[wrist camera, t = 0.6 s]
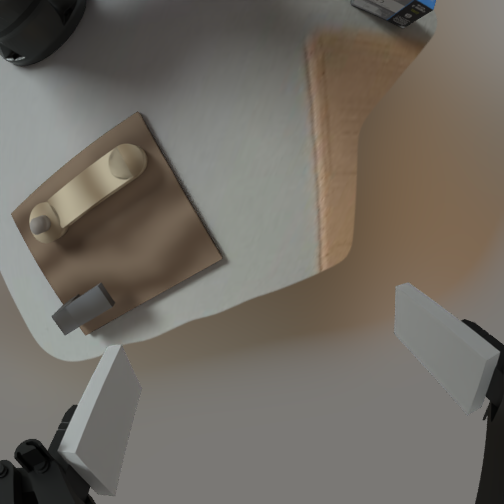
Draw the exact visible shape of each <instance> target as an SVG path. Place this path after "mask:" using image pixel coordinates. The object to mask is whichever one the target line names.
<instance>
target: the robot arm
mask: <svg viewBox="0 0 504 504" xmlns="http://www.w3.org/2000/svg"><path fill="white" fill-rule="evenodd" d="M85 5H86V0H0V55H1V56H2V57H3V58H4V59H5V60H6V61H8V62H11V63H13V64H16V65H20V66H25V65H30V64H34V63H36V62H39V61H41V60H42V59H44V58H46V57H47V56H49V55H50V54H52V53H53V52H54V51H55V50H57V49H58V48H59V47H60V46H61V45H62V44H63V43H64V42H65V41H66V40H67V39H68V37H69V36H70V35H71V34H72V32H73V31H74V30H75V28H76V27H77V25H78V23H79V21H80V20H81V18H82V15H83V13H84V10H85ZM394 334H395V335H396V336H397V338H398V339H399V340H400V341H401V342H402V343H403V344H404V345H405V346H406V347H407V348H408V349H409V350H410V352H411V353H412V354H413V355H414V356H415V357H416V358H417V359H418V360H419V361H420V362H421V363H422V365H423V366H424V367H425V368H426V369H427V370H428V371H429V372H430V373H431V374H432V376H433V377H434V378H435V379H436V380H437V381H438V382H439V384H440V385H441V386H442V387H443V388H444V389H445V390H446V391H447V392H448V394H449V395H450V396H451V397H452V398H453V399H454V401H455V402H456V403H457V404H458V405H459V406H460V408H461V409H462V410H463V411H464V412H465V413H466V415H469V414H471V413H473V412H474V411H476V410H477V409H479V408H481V407H482V404H483V402H484V399H485V396H486V397H487V398H488V399H489V400H490V403H489V406H488V408H487V410H486V412H485V415H484V417H483V420H485V419H486V417H487V415H488V418H487V432H486V442H485V451H484V459H483V466H482V472H481V478H480V483H479V489H478V493H477V498H476V502H475V504H504V345H503V344H502V343H500V342H499V341H498V340H497V339H495V338H494V337H493V336H491V335H489V334H488V332H486V331H485V330H483V329H482V328H481V327H480V326H478V325H477V324H476V323H474V322H471V321H468V320H466V319H464V320H462V321H460V320H459V319H458V318H456V317H455V316H454V315H452V314H451V313H449V312H448V311H447V310H446V309H444V308H443V307H442V306H440V305H439V304H438V303H436V302H435V301H434V300H432V299H431V298H429V297H428V296H426V295H425V294H424V293H422V292H421V291H420V290H418V289H417V288H415V287H414V286H413V285H411V284H410V283H405V284H402V285H398V286H396V297H395V327H394ZM141 390H142V387H141V385H140V383H139V381H138V379H137V377H136V375H135V373H134V371H133V369H132V366H131V364H130V362H129V360H128V358H127V355H126V353H125V351H124V349H123V346H122V344H120V345H112V346H108V347H107V349H106V350H105V352H104V354H103V356H102V358H101V360H100V362H99V364H98V366H97V368H96V370H95V372H94V374H93V376H92V378H91V380H90V382H89V384H88V386H87V388H86V390H85V392H84V394H83V396H82V398H81V400H80V402H79V404H78V405H73V406H72V407H71V408H70V409H69V410H68V411H67V412H66V413H65V415H64V417H63V419H62V423H61V424H60V425H59V427H58V431H57V432H56V434H55V436H54V438H53V440H52V442H51V445H50V447H49V449H48V451H47V450H46V448H45V447H44V446H43V445H42V443H41V442H40V441H38V440H36V439H29V440H26V441H24V442H23V443H21V444H20V445H19V446H18V447H17V448H16V451H15V456H14V457H15V459H16V460H17V461H18V463H19V464H20V465H21V466H22V467H23V468H16V467H14V465H13V464H12V463H11V462H10V461H7V460H1V461H0V504H96V503H95V502H94V500H93V498H92V497H91V496H90V495H89V494H88V492H89V488H90V487H91V488H92V489H93V490H94V491H95V492H96V493H97V494H100V495H109V496H115V494H116V490H117V485H118V481H119V476H120V472H121V467H122V463H123V459H124V455H125V451H126V446H127V442H128V438H129V435H130V430H131V427H132V423H133V419H134V415H135V412H136V408H137V405H138V401H139V397H140V394H141Z"/></svg>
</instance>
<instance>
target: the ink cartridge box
mask: <svg viewBox="0 0 504 504" xmlns="http://www.w3.org/2000/svg"><path fill="white" fill-rule="evenodd" d="M435 2H436V0H351V5H353V6H355V7H358V8H360V9H363V10H365V11H367V12H370V13H372V14H374V15H377V16H379V17H381V18H383V19H385V20H387V21H389V22H391V23H393V24H396V25H397V26H399V27H401V28H405V27H406V26H408V25H410V24H411V23H413V22H414V21H416V20H418V19H419V18H421V17H422V16H424V15H426V14H427V13H429V12H431V11H432V10H433V9H434V6H435Z"/></svg>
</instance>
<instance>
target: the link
mask: <svg viewBox="0 0 504 504" xmlns="http://www.w3.org/2000/svg"><path fill="white" fill-rule="evenodd" d="M146 167H147V155H146V153H145V151H144V150H143V149H142V148H141V147H139V146H136V145H132V144H121V145H119V146H117V147H115V148H114V149H113V150H111V151H110V152H108V153H107V154H106V155H104V156H103V157H101V158H100V159H99V160H97V161H96V162H95V163H93V164H92V165H91V166H89V167H88V168H87V169H85V170H84V171H83V172H81V173H80V174H79V175H78V176H76V177H75V178H74V179H73V180H71V181H70V182H69V183H68V184H66V185H65V186H64V187H63V188H61V189H60V190H59V191H58V192H57V193H55V194H54V195H53V196H52V197H51V198H50V199H48V200H47V202H43V203H40V204H38V205H36V206H35V207H34V208H33V210H32V212H31V214H30V220H29V223H30V229H31V232H32V234H33V235H34V237H35V238H36V239H37V240H38V241H40V242H42V243H50V242H53V241H55V240H57V239H59V238H61V237H62V236H64V235H65V233H66V232H67V230H68V227H69V225H72V224H73V223H74V222H75V221H77V220H78V219H79V218H81V217H82V216H83V215H85V214H86V213H87V212H89V211H90V210H91V209H93V208H94V207H95V206H97V205H98V204H100V203H101V202H102V201H104V200H105V199H107V198H108V197H109V196H111V195H112V194H114V193H115V192H117V191H118V190H120V189H121V188H122V187H124V186H125V185H127V184H128V183H130V182H131V181H133V180H134V179H136V178H137V177H139V176H140V175H142V174H143V172H144V171H145V169H146Z"/></svg>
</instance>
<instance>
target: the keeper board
mask: <svg viewBox="0 0 504 504" xmlns="http://www.w3.org/2000/svg"><path fill="white" fill-rule="evenodd" d="M121 144H132V145H136V146H139V147H141V148H142V149H143V150H144V151H145V153H146V155H147V167H146V169H145V171H144V172H143V174H142V175H140V176H139V177H137V178H136V179H134V180H133V181H131V182H130V183H128V184H127V185H125V186H124V187H122V188H121V189H120V190H118V191H117V192H115V193H114V194H112V195H111V196H109V197H108V198H107V199H105V200H104V201H102V202H101V203H100V204H98V205H97V206H95V207H94V208H93V209H91V210H90V211H89V212H87V213H86V214H85V215H83V216H82V217H81V218H79V219H78V220H77V221H75V222H74V223H73V224H72V225H69V227H68V230H67V232H66V233H65V235H64V236H62V237H61V238H59V239H57V240H55V241H53V242H50V243H42V242H40V241H38V240H37V239H36V238H35V237H34V235H33V234H32V232H31V229H30V223H29V220H30V214H31V212H32V210H33V208H34V207H35V206H36V205H38V204H40V203H43V202H47V200H48V199H50V198H51V197H52V196H53V195H54V194H55V193H57V192H58V191H59V190H60V189H61V188H63V187H64V186H65V185H66V184H68V183H69V182H70V181H71V180H73V179H74V178H75V177H76V176H78V175H79V174H80V173H81V172H83V171H84V170H85V169H87V168H88V167H89V166H91V165H92V164H93V163H95V162H96V161H97V160H99V159H100V158H101V157H103V156H104V155H106V154H107V153H108V152H110V151H111V150H113V149H114V148H115V147H117V146H119V145H121ZM11 215H12V217H13V219H14V221H15V223H16V225H17V227H18V229H19V231H20V233H21V235H22V237H23V239H24V241H25V243H26V244H27V246H28V248H29V250H30V252H31V253H32V255H33V257H34V259H35V260H36V262H37V264H38V266H39V267H40V269H41V271H42V272H43V274H44V276H45V277H46V279H47V280H48V282H49V284H50V285H51V287H52V288H53V290H54V291H55V293H56V294H57V296H58V297H59V299H60V300H61V302H62V303H63V306H62V307H61V308H60V309H59V310H58V311H57V312H56V313H55V314H54V315H53V316H52V318H53V320H54V321H55V322H56V324H57V325H58V327H59V328H60V329H61V331H62V332H63V333H64V335H66V334H68V333H70V332H71V331H73V330H75V329H76V328H78V327H80V329H81V330H82V332H83V333H84V334H85V336H86V335H87V334H89V333H91V332H93V331H94V330H96V329H98V328H100V327H102V326H103V325H105V324H107V323H109V322H110V321H112V320H114V319H116V318H117V317H119V316H121V315H123V314H125V313H126V312H128V311H130V310H132V309H133V308H135V307H137V306H139V305H141V304H142V303H144V302H146V301H148V300H149V299H151V298H153V297H155V296H157V295H158V294H160V293H162V292H164V291H166V290H167V289H169V288H171V287H173V286H175V285H176V284H178V283H180V282H182V281H183V280H185V279H187V278H189V277H191V276H192V275H194V274H196V273H198V272H200V271H201V270H203V269H205V268H207V267H209V266H210V265H212V264H214V263H216V262H218V261H219V260H221V259H222V255H221V253H220V252H219V250H218V248H217V247H216V245H215V243H214V242H213V240H212V238H211V237H210V235H209V233H208V232H207V230H206V228H205V226H204V225H203V223H202V221H201V220H200V218H199V216H198V215H197V213H196V211H195V209H194V208H193V206H192V204H191V202H190V201H189V199H188V197H187V196H186V194H185V192H184V190H183V189H182V187H181V185H180V183H179V182H178V180H177V178H176V176H175V175H174V173H173V171H172V169H171V168H170V166H169V164H168V162H167V161H166V159H165V157H164V155H163V153H162V152H161V150H160V148H159V146H158V145H157V143H156V141H155V139H154V137H153V136H152V134H151V132H150V130H149V128H148V127H147V125H146V123H145V121H144V119H143V117H142V116H141V114H140V113H139V112H136V113H135V114H133V115H132V116H130V117H129V118H127V119H126V120H124V121H123V122H121V123H120V124H118V125H117V126H115V127H114V128H112V129H111V130H110V131H108V132H107V133H105V134H104V135H103V136H101V137H100V138H98V139H97V140H96V141H94V142H93V143H92V144H90V145H89V146H88V147H86V148H85V149H84V150H83V151H81V152H80V153H79V154H77V155H76V156H75V157H74V158H72V159H71V160H70V161H69V162H67V163H66V164H65V165H64V166H63V167H61V168H60V169H59V170H58V171H57V172H55V173H54V174H53V175H52V176H51V177H50V178H49V179H47V180H46V181H45V182H44V183H43V184H42V185H41V186H40V187H38V188H37V189H36V190H35V191H34V192H33V193H32V194H31V195H30V196H29V197H28V198H27V199H26V200H25V201H24V202H22V203H21V204H20V205H19V206H18V207H17V208H16V209H15V210H14V211H13V212H12V213H11Z"/></svg>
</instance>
